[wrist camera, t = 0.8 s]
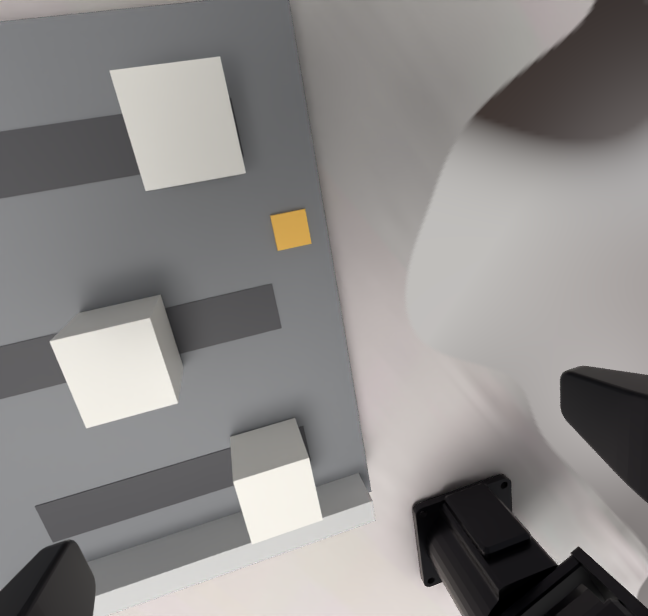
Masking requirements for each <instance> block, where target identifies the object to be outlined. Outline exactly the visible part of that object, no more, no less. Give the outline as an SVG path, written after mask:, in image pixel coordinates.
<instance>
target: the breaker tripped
mask: <svg viewBox="0 0 648 616" xmlns="http://www.w3.org/2000/svg"><path fill="white" fill-rule="evenodd" d="M49 342H50V344H51V346H52V349H53V351H54V353H55V356H56V358H57V360H58V363H59V365H60V368H61V370H62V372H63V375H64V377H65V379H66V382H67V384H68V386H69V389H70V391H71V394H72V396H73V398H74V401H75V403H76V405H77V408H78V410H79V413H80V415H81V417H82V420H83V422H84V424H85V427H86V428H90V427H93V426H97V425H101V424H104V423H108V422H112V421H115V420H119V419H123V418H126V417H130V416H134V415H137V414H141V413H144V412H148V411H152V410H155V409H159V408H163V407H166V406H170V405H174V404H177V403H178V400H179V394H180V387H181V381H182V374H183V364H182V361H181V358H180V355H179V352H178V348H177V345H176V342H175V339H174V336H173V333H172V329H171V326H170V323H169V320H168V317H167V313H166V310H165V307H164V304H163V301H162V298H161V295H156V296H152V297H147V298H143V299H138V300H134V301H130V302H125V303H121V304H116V305H112V306H107V307H103V308H98V309H94V310H90V311H85V312H81V313H78V314H77V315H76V316H75V317H74V318H73V319H72V320H71V321H70V322H69V323H68V324H67V325H66V326H65V327H64V328H63V329H62V330H61V331H60V332H59V333H58V334H57V335H56V336H55V337H53V338H52V339H51V340H50V341H49Z"/></svg>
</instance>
